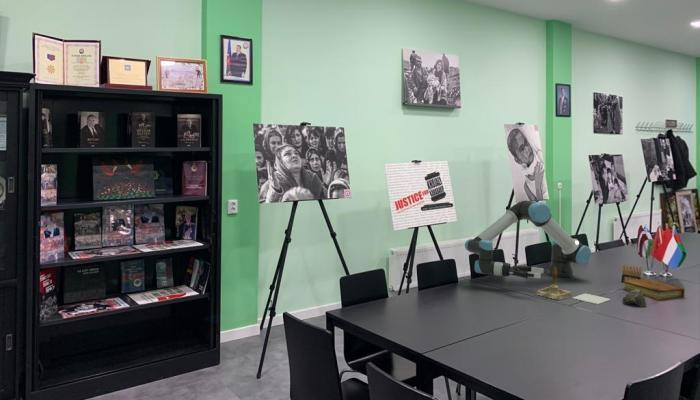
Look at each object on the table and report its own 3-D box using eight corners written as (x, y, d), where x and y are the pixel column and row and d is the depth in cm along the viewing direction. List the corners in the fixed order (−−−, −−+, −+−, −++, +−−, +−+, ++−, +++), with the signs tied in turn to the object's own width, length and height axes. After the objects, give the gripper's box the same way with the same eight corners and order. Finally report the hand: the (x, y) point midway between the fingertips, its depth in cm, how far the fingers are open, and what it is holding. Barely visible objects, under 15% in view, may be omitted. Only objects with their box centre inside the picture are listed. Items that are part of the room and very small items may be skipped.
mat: (572, 298, 273) (572, 297, 273) (585, 294, 281) (585, 293, 281) (598, 304, 262) (598, 303, 262) (610, 300, 270) (610, 299, 270)
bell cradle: (535, 295, 279) (535, 290, 279) (548, 291, 287) (549, 286, 287) (558, 300, 268) (558, 296, 268) (571, 296, 277) (571, 291, 276)
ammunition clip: (641, 285, 303) (642, 265, 301) (640, 285, 301) (641, 265, 300) (622, 281, 310) (623, 262, 309) (621, 282, 309) (622, 263, 308)
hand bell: (544, 293, 283) (546, 265, 282) (560, 294, 281) (562, 266, 279) (546, 297, 275) (547, 268, 274) (562, 298, 273) (563, 269, 271)
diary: (684, 298, 277) (684, 288, 276) (658, 301, 270) (659, 291, 270) (646, 287, 298) (647, 278, 298) (622, 290, 292) (623, 280, 291)
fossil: (616, 300, 268) (625, 283, 268) (630, 307, 269) (639, 291, 269) (629, 305, 258) (638, 288, 257) (644, 313, 258) (653, 296, 258)
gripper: (506, 271, 300) (544, 275, 291) (498, 280, 278) (538, 285, 268) (506, 258, 300) (544, 262, 290) (498, 266, 277) (539, 271, 268)
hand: (542, 273), depth 279 cm, fingers open, 13 cm apart
